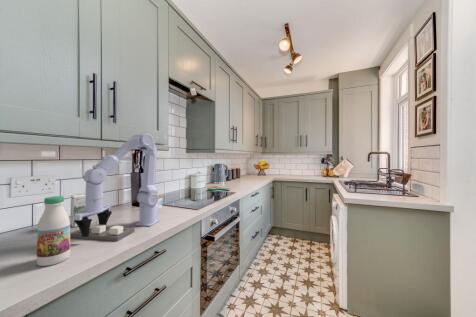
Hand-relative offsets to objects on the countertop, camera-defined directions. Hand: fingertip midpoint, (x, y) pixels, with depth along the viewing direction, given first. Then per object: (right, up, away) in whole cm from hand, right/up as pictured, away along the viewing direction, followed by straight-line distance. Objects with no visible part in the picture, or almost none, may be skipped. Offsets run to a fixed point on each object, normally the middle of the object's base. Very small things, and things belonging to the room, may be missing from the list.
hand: (94, 232), depth 79 cm
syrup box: (-18, -2, +15) cm, 24 cm away
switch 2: (0, -1, +2) cm, 2 cm away
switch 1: (-7, 0, +7) cm, 10 cm away
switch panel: (+1, -2, +4) cm, 5 cm away
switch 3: (+8, -1, +1) cm, 8 cm away
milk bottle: (0, -3, -17) cm, 17 cm away
